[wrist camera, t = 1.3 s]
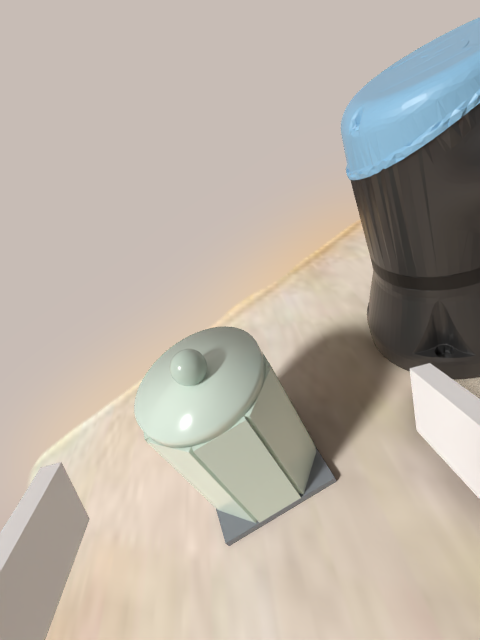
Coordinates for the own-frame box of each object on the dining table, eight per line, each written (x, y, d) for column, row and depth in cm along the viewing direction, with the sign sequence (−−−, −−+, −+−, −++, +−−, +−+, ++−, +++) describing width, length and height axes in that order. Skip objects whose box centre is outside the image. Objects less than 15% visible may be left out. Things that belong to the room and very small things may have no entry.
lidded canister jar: (283, 395, 37) (223, 287, 29) (334, 477, 29) (270, 359, 21) (198, 446, 37) (113, 351, 29) (225, 543, 29) (117, 449, 21)
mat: (285, 398, 38) (283, 395, 37) (336, 481, 30) (334, 477, 29) (201, 448, 38) (198, 446, 37) (228, 546, 29) (225, 543, 29)
